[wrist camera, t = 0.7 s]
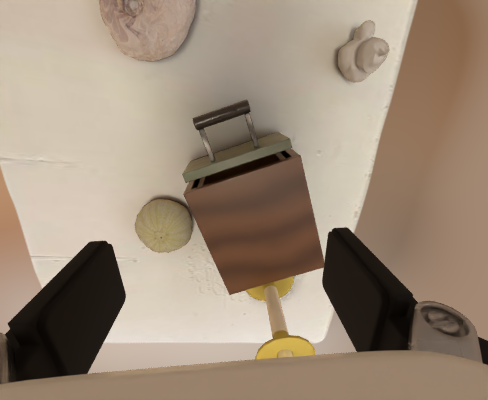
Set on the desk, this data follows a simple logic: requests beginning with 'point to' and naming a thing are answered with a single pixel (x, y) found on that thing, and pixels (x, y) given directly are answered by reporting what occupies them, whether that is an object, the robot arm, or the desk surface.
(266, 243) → the cabinet
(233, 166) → the drawer
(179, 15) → the fossil
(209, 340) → the desk surface
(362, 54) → the rubber duck
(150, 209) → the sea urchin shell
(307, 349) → the candle
